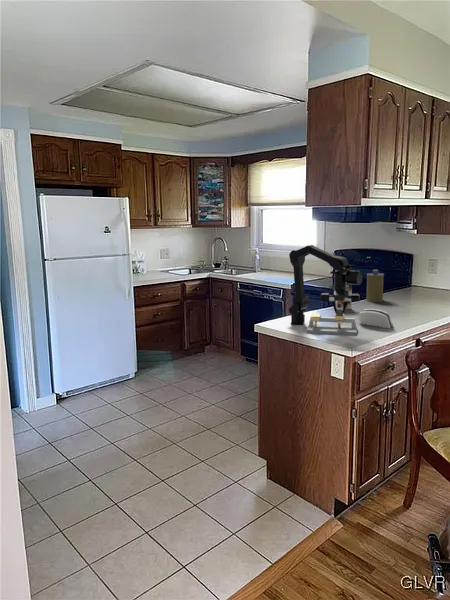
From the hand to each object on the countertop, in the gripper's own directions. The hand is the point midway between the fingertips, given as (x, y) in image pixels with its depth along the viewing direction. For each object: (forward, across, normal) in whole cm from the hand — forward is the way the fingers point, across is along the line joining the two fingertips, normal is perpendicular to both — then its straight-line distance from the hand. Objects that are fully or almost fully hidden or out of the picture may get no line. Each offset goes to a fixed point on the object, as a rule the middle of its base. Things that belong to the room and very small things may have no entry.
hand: (339, 314), depth 225 cm
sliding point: (+7, 0, 0) cm, 7 cm away
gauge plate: (+8, -4, -1) cm, 9 cm away
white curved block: (+9, +17, +13) cm, 23 cm away
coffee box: (+9, -1, +51) cm, 51 cm away
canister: (+9, +18, +78) cm, 80 cm away
